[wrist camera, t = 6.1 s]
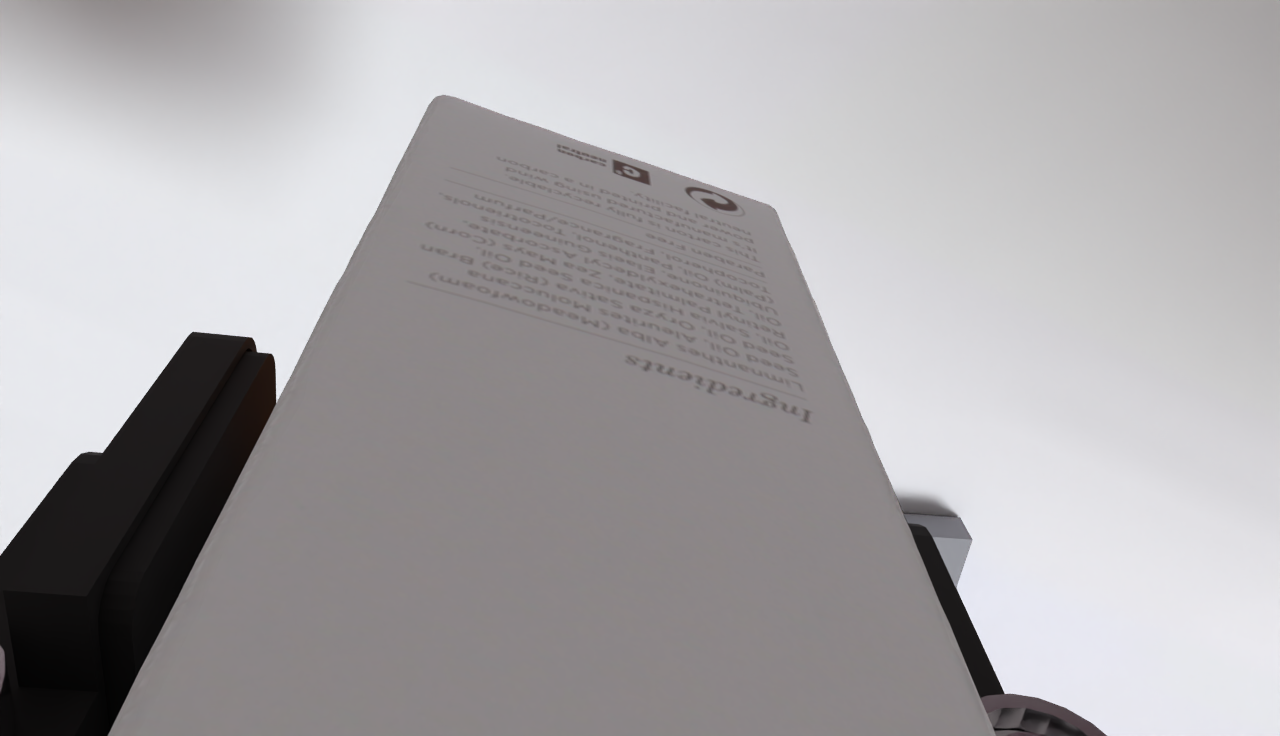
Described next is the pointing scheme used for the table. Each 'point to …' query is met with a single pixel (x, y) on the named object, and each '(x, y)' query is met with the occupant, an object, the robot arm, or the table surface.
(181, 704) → the skincare box
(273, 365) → the robot arm
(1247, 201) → the table surface
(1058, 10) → the table surface
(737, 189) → the table surface
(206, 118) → the table surface
